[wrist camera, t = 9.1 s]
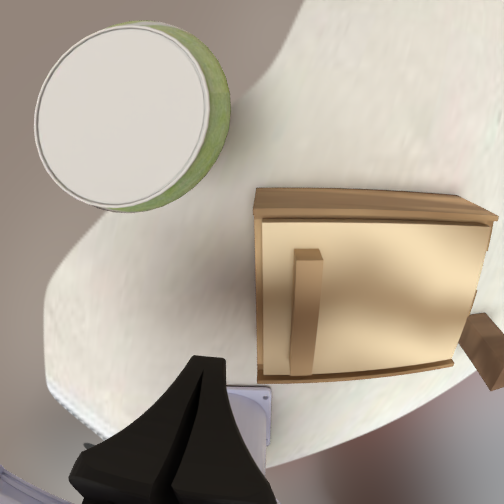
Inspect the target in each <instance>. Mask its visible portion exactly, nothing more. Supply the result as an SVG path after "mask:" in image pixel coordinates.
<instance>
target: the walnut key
mask: <svg viewBox="0 0 504 504" xmlns="http://www.w3.org/2000/svg"><path fill="white" fill-rule="evenodd" d="M458 343H459V344H460V346H461V347H462V349H463V350H464V352H465V353H466V354H467V356H468V357H469V359H470V360H471V362H472V363H473V365H474V366H475V368H476V369H477V371H478V372H479V374H480V375H481V377H482V379H483V380H484V382H485V383H486V385H487V386H488V388H489V390H490V391H493V390H496V389H499V388H502V387H504V334H503V332H502V331H501V330H500V329H499V328H498V327H497V326H496V324H495V323H494V322H493V321H492V320H491V319H490V318H489V317H488V315H487V314H486V313H479V314H471V315H469V316H468V317H467V319H466V322H465V325H464V328H463V331H462V333H461V336H460V339H459V341H458Z"/></svg>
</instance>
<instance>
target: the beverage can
mask: <svg viewBox="0 0 504 504" xmlns="http://www.w3.org/2000/svg"><path fill="white" fill-rule="evenodd" d="M230 114H231V104H230V92H229V88H228V84H227V80H226V77H225V74H224V72H223V70H222V68H221V66H220V64H219V62H218V60H217V59H216V58H215V56H214V55H213V54H212V52H211V51H210V50H209V48H208V47H207V46H206V45H204V44H203V43H202V42H201V41H200V40H199V39H198V38H197V37H195V36H194V35H192V34H190V33H189V32H187V31H185V30H183V29H182V28H179V27H176V26H173V25H170V24H167V23H164V22H156V21H148V20H144V21H129V22H125V23H121V24H116V25H113V26H110V27H108V28H106V29H103V30H100V31H98V32H96V33H93V34H91V35H89V36H87V37H85V38H84V39H82V40H81V41H79V42H78V43H76V44H75V45H73V46H72V47H71V48H70V49H69V50H68V51H67V52H65V53H64V54H63V55H62V56H61V58H60V59H59V60H58V61H57V63H56V64H55V65H54V66H53V68H52V69H51V70H50V72H49V74H48V76H47V77H46V79H45V81H44V83H43V86H42V88H41V91H40V93H39V96H38V99H37V104H36V109H35V117H34V133H35V141H36V145H37V149H38V153H39V156H40V159H41V161H42V163H43V165H44V167H45V169H46V171H47V172H48V173H49V175H50V176H51V178H52V179H53V180H54V182H55V183H57V185H58V186H60V187H61V188H62V189H63V190H64V191H65V192H67V193H68V194H69V195H71V196H72V197H74V198H75V199H77V200H80V201H82V202H85V203H87V204H89V205H92V206H94V207H97V208H99V209H103V210H107V211H112V212H121V213H135V212H143V211H149V210H152V209H155V208H159V207H162V206H165V205H167V204H169V203H171V202H173V201H175V200H177V199H179V198H180V197H182V196H183V195H184V194H186V193H187V192H188V191H190V190H191V189H193V188H194V187H195V186H196V185H197V184H198V183H199V182H200V181H201V180H202V179H203V178H204V177H205V176H206V174H207V173H208V171H209V170H210V169H211V167H212V166H213V164H214V163H215V162H216V160H217V158H218V156H219V154H220V152H221V150H222V148H223V146H224V143H225V139H226V136H227V133H228V129H229V123H230Z"/></svg>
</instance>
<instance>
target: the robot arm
mask: <svg viewBox="0 0 504 504" xmlns="http://www.w3.org/2000/svg"><path fill="white" fill-rule="evenodd" d="M270 428H271V389H270V388H266V387H226V360H225V359H224V358H217V357H206V356H195V355H194V356H192V357H191V359H190V360H189V362H188V363H187V365H186V366H185V368H184V369H183V370H182V372H181V373H180V374H179V376H178V377H177V378H176V380H175V381H174V382H173V383H172V385H171V386H170V387H169V388H168V389H167V391H166V392H165V393H164V394H163V395H162V396H161V397H160V398H159V399H158V400H157V401H156V402H155V403H154V404H153V405H152V406H151V407H150V408H149V409H148V410H147V411H146V412H145V413H144V414H142V415H141V416H140V417H139V418H138V419H136V420H135V421H134V422H133V423H131V424H130V425H129V426H127V427H126V428H124V429H123V430H122V431H120V432H118V433H117V434H115V435H114V436H112V437H110V438H109V439H107V440H105V441H103V442H102V443H100V444H97V445H95V446H93V447H91V448H89V449H87V450H85V451H82V452H81V454H80V455H79V457H78V458H77V460H76V462H75V464H74V466H73V468H72V471H71V473H70V475H69V482H70V483H71V484H72V486H73V487H74V488H75V489H76V490H77V491H78V492H79V493H80V494H81V495H82V496H83V497H84V499H83V502H82V504H281V503H280V502H278V500H277V499H276V498H275V496H274V494H273V492H272V489H271V486H270V484H269V482H268V481H267V479H266V478H265V466H266V446H269V445H270ZM0 504H73V503H71V502H69V501H66V500H64V499H62V498H59V497H57V496H55V495H53V494H50V493H48V492H46V491H44V490H42V489H40V488H38V487H36V486H34V485H32V484H30V483H29V482H27V481H25V480H23V479H21V478H19V477H17V476H16V475H14V474H12V473H10V472H9V471H7V470H5V469H4V467H3V466H2V465H1V464H0Z"/></svg>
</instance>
